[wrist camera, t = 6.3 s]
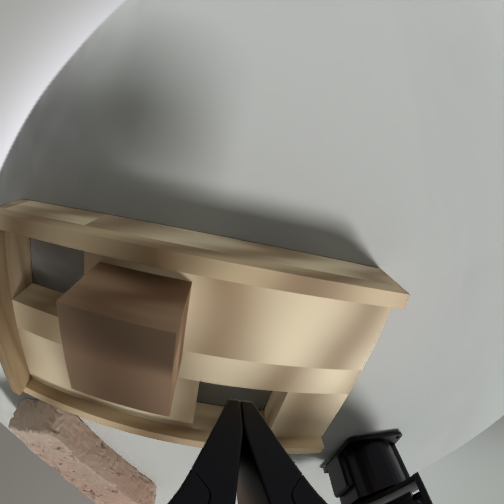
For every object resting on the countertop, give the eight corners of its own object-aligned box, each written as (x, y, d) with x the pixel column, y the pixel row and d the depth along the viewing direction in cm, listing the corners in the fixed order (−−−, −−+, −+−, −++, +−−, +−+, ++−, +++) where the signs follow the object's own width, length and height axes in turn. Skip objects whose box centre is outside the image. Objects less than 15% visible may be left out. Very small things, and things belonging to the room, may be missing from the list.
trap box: (380, 268, 16) (420, 304, 11) (310, 418, 19) (323, 463, 15) (21, 199, 13) (-28, 215, 9) (40, 363, 17) (15, 398, 13)
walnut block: (192, 281, 12) (176, 333, 9) (181, 359, 14) (169, 417, 10) (99, 261, 12) (56, 301, 8) (101, 339, 13) (71, 388, 9)
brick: (19, 398, 19) (0, 427, 14) (63, 394, 18) (42, 432, 14) (110, 481, 24) (103, 508, 20) (161, 483, 24) (156, 515, 19)
